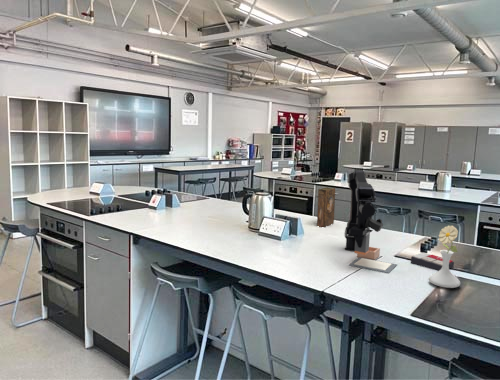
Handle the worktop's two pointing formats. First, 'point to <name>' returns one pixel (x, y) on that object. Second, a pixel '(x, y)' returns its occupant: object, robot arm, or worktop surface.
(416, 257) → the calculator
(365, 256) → the copper square tube
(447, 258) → the flower in vase
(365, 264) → the writing mat
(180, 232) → the worktop surface
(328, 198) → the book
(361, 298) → the worktop surface
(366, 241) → the grey square block
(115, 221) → the worktop surface
